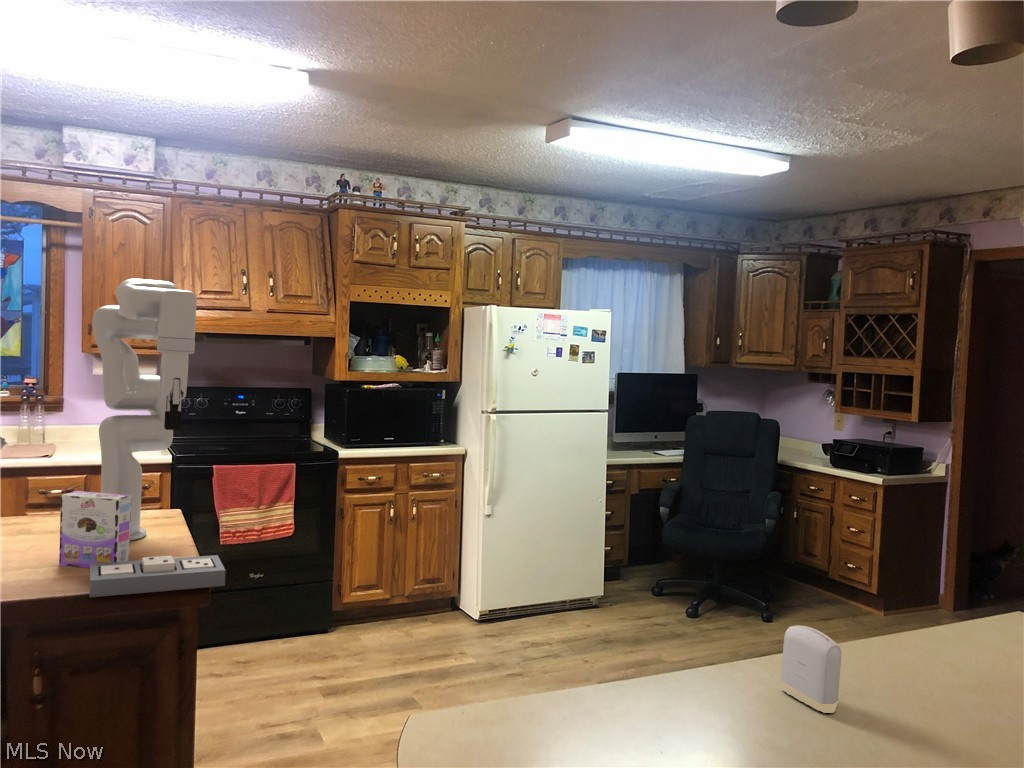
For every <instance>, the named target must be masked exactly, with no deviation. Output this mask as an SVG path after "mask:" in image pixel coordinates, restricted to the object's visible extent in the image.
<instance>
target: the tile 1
mask: <svg viewBox="0 0 1024 768" xmlns="http://www.w3.org/2000/svg"><path fill="white" fill-rule="evenodd" d="M121 574H133V567H132V564H122V565H108V566H101V574H100V576H108V575H121Z"/></svg>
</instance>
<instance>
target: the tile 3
mask: <svg viewBox="0 0 1024 768" xmlns="http://www.w3.org/2000/svg"><path fill="white" fill-rule="evenodd" d="M181 568H182V570H188V569H201V568H214V565H213V563H212V561H211V559H210V558H208V559H194V560H182V563H181Z"/></svg>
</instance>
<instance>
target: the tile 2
mask: <svg viewBox="0 0 1024 768" xmlns="http://www.w3.org/2000/svg"><path fill="white" fill-rule="evenodd" d="M173 558H174V557H173V555H159V556H158V555H157V556H145V557H142V559H141V560H142V569H143V573H148V572H161V571H175V562H174V559H173Z"/></svg>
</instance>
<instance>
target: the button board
mask: <svg viewBox="0 0 1024 768" xmlns="http://www.w3.org/2000/svg"><path fill="white" fill-rule="evenodd" d="M208 558H210V559H211V561H212V563H213V565H214V568H201V569H188V570H182V568H181V563H182V560H194V559H208ZM173 559H174V562H175V571H161V572H148V573H143V569H142V559H141V560H129V561H124V562H109V563H94V564H90V568H89V580H88V581H89V598H98V597H110V596H121V595H123V596H124V595H131V594H132V595H134V594H145V593H157V592H158V593H159V592H167V591H168V592H170V591H179V590H180V591H182V590H192V589H203V588H214V587H215V588H217V587H225V586H226V569H225V566H224V564H223V563H222V561H221V559H220V557H219V555H218V554H216V555H215V554H214V555H213V554H212V555H201V556H185V557H173ZM122 564H132V567H133V574H121V575H108V576H100V574H101V566H108V565H122Z"/></svg>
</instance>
